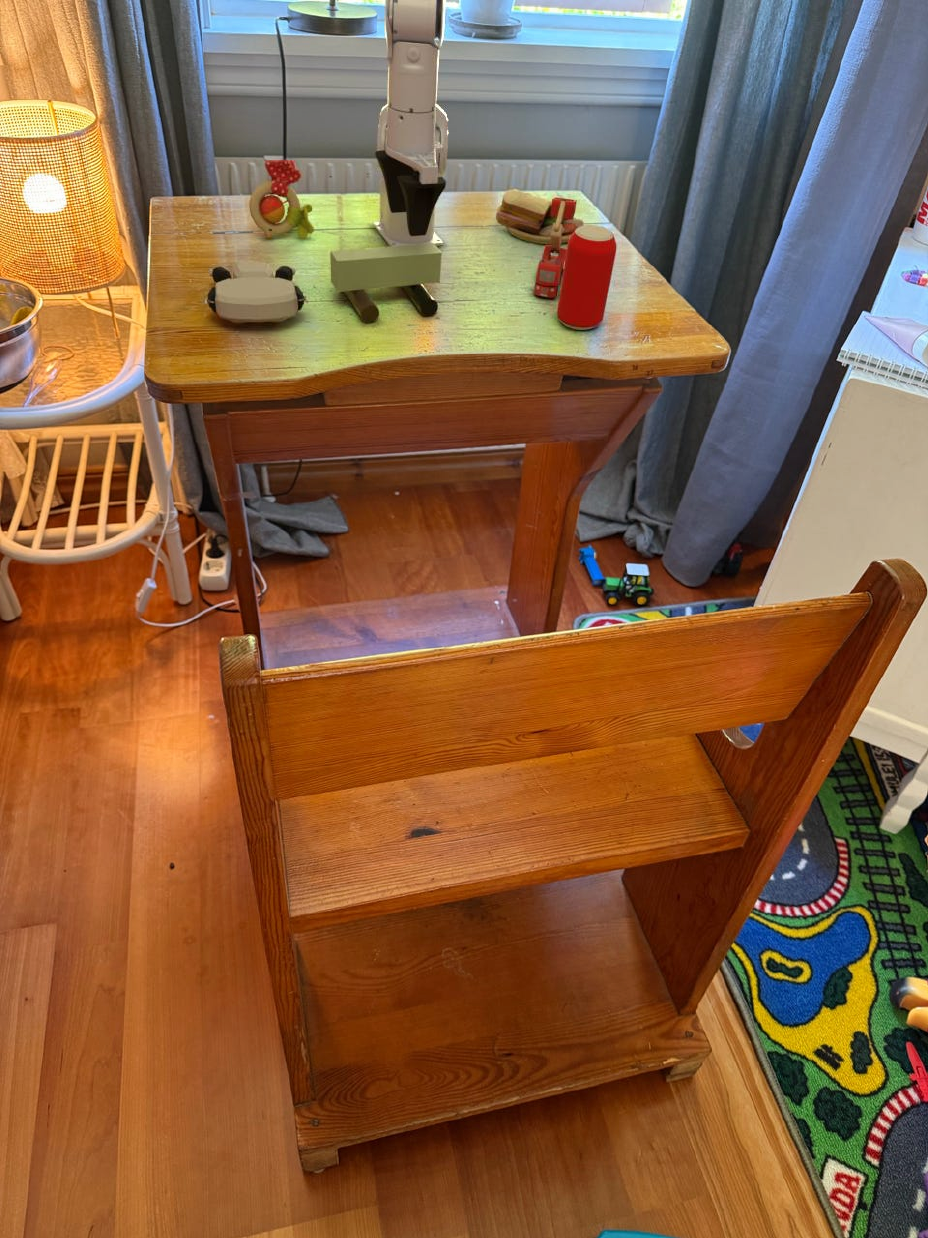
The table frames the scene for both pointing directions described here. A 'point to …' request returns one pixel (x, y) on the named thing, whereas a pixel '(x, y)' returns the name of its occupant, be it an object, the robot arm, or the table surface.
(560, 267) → the toy fire truck
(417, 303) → the black rod
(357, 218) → the table surface
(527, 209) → the toy sandwich meal
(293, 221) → the bird rattle
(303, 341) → the table surface
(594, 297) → the beverage can
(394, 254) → the bar
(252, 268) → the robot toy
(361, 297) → the walnut rod
